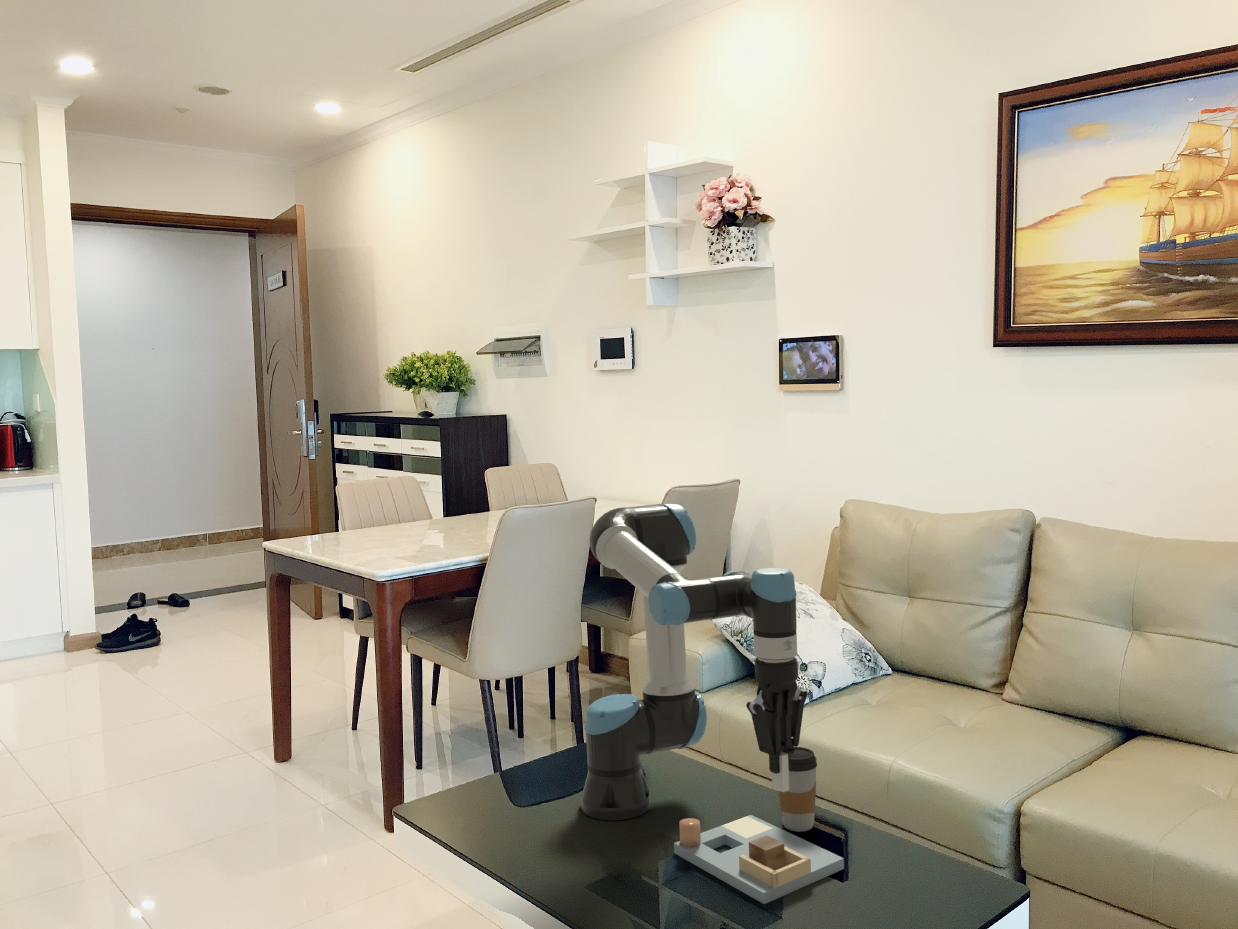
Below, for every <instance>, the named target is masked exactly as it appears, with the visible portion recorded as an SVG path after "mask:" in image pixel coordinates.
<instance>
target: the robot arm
mask: <svg viewBox="0 0 1238 929" xmlns="http://www.w3.org/2000/svg"><path fill="white" fill-rule="evenodd" d="M696 545H697V533H696V528H695V525H694V522H693V520H692V517H691V515H690V514H689V512H688V511H687V509H686V508H685V507H683V506H682V505H680V504H677V503H657V504H649V505H647V504H646V505H639V506H638V505H637V506H628V507H625V506H624V507H623V506H622V507H618V508H613V509H610V510H608V511H607V512H605V513H604V514H602V515H601V516H599V517H598V519H597V520H596V521H595V523H594V524H593V526H592V527H591V531H590V534H589V547H590V550H591V553H592V555H593V556H594V557H595V559H596V560H597V562H599V563H600V564H601V565H602V566H604V567H605V568H607V569H610V570H615V571H617V572H618V573H619V574H620V575H621V576H622V577H624V578H625V579H626V580H627V581H628V582H629V583H631V585H633V586H634V587H635V588H636V589H637V590H638V591H639V592H641V593H642V594H643V609H644V624H645V626H644V627H645V640H646V644H645V645H646V656H647V657H646V659H647V660H646V661H647V676H648V680H647V681H648V682H647V683H646V684H645V685H644V686H643V687H642V690H641V691H642V699H639V698H638V697H637V696H636V695H634V694H631V693H622V694H619V693H617V694H616V693H615V694H610V695H607V696H603V697H600V698H599V699H596V700H595V701H593V702H592V703H591V704H590V705H589V706H588V707H587V709H586V712H585V725H584V730H585V737H586V739H585V740H586V756H587V757H586V759H587V775H586V779H585V782H584V786H583V790H582V794H581V798H580V803H581V804H580V805H581V810H582V812H583V814H585V815H586V816H588V817H589V818H594V819H597V820H603V821H623V820H629V819H632V818H633V819H634V818H637V817H640V816H642V815H644V814H645V813H646V812H648V811H649V810H650V809H651V806H652V801H651V792H650V789H649V786H648V784H647V781H646V779H645V776H644V773H643V770H642V756H644V755H651V754H656V753H662V752H666V751H671V750H676V749H677V750H681V749H684V748H686V747H690V746H694V745H696V744H698V743H699V742H700V741H701V740H702V738H703V737H704V735H705V733H706V728H707V720H708V713H707V706H706V705H705V700H704V698H703V696H702V695H701V693H700V692H698V691H696V690H695V689H696V687H695V685H694V683H692V682H691V681H689V679H688V670H687V667H688V666H687V655H686V654H687V653H686V638H685V637H686V636H685V624H687V623H695V622H703V621H709V620H717V619H719V620H720V619H724V618H733V617H738V616H739V617H741V616H744V617H749V618H751V619H752V625H753V652H754V653H753V655H754V656H755V657H756V658H755V659H754V677H755V679H756V682H757V685H758V686H757V689H756V697H755V698H754V699H753V700H752V701H747V702H746V708H747V710H748V711H749V713H750V715H751V720H752V724H753V728H754V732H755V737H756V742H757V745H758V749H759V751H760V752H761V753H764V754H767V755H768V764H769V766H768V769H769V772H771V786H772V787H771V788H772V789H774V790H776V791H778V792H779V791H781V792H786V791H789V769H790V753H791V754H793V753H794V752H795V749H792V748H793V747H799V743H800V736H801V731H802V723H803V722H802V721H803V715H804V708H805V703H806V700H807V699H808V695H809V694H808V691H806V690H803V689H800V688H799V687H798V684H797V681H798V679H799V660H798V658H797V655H798V642H797V641H798V635H797V634H798V632H797V590H796V584H795V576H794V573H793V572H792V571H791V570H790V569H787V568H778V567H767V568H766V567H765V568H760V569H759V568H758V569H755V570H754V571H753V572H752V574H751V573H748V572H745V571H741V570H740V571H735V570H734V571H732V570H730V571H727V572H725V573H723V575H721V576H714V577H706V578H697V579H696V578H695V579H689V578H688V577H686V576H685V575H684V574H682V571H683V569H685V568H686V566H687V565H688V556H689V555H691V554H693V552H694V551H695V549H696Z"/></svg>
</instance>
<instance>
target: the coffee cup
mask: <svg viewBox="0 0 1238 929" xmlns="http://www.w3.org/2000/svg"><path fill="white" fill-rule="evenodd" d="M792 749H795V752H794V753H793V754H791V753H790V769H789V791H786V792H781V791H779V790H778V795H779V805H780V807H779V808H780V812H781V813H780V814H781V819H782V820H781V821H782V824H783V826H784V828H785V829H787V830H789V831H792V832H807V831H809V830H811V829H813V827H814V825H815V812H816V799H817V798H816V796H817V795H816V792H817V788H816V787H817V766H818V762H817V757H816V756H815V752H814V751H813V750H812V749H809V748H807V747H803V746H802V747H801V746H797V747H795V746H794V747H793V748H792Z"/></svg>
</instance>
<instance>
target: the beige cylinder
mask: <svg viewBox="0 0 1238 929" xmlns="http://www.w3.org/2000/svg"><path fill="white" fill-rule="evenodd" d="M678 827H679V841H680V844H681V845H682V846H684V847H689V848H692V847H697V846H699V845H700V844H701V833H702V832H701V821H700V820H699V819H697V818H694V817H693V818H692V817H691V818H689V817H688V818H683V819H680V820H679V824H678Z"/></svg>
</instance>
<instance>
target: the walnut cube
mask: <svg viewBox="0 0 1238 929" xmlns="http://www.w3.org/2000/svg"><path fill="white" fill-rule="evenodd" d="M749 858H751V859H753V860H755V861H757V862H759V863H761V864H763V865H764V866H766V867H768V868H770V869H772V870H774V871H776V870H778V869H780V868H783V867H785V854H784V843H782V842H780V841H778V840H776V839H774V838H772V837H770V836H768V835H765V836H763V837H760V838H758V839H755V840H753V841H750V842H749Z"/></svg>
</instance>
